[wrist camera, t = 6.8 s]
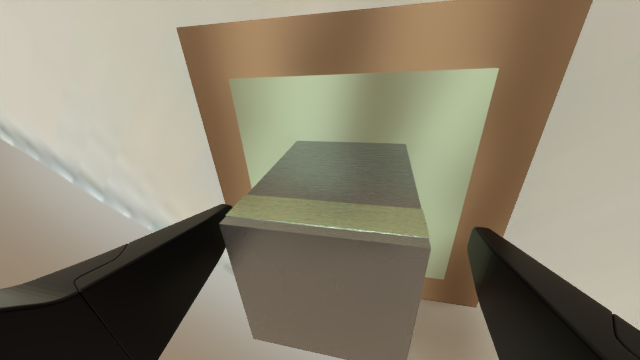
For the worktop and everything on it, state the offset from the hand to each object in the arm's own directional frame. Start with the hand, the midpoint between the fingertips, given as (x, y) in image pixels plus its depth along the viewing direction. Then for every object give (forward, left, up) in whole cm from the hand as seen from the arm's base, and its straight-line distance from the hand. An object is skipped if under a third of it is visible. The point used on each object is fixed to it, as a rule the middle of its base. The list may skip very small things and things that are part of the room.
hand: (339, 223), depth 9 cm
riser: (0, 0, -6) cm, 6 cm away
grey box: (0, 0, -3) cm, 3 cm away
